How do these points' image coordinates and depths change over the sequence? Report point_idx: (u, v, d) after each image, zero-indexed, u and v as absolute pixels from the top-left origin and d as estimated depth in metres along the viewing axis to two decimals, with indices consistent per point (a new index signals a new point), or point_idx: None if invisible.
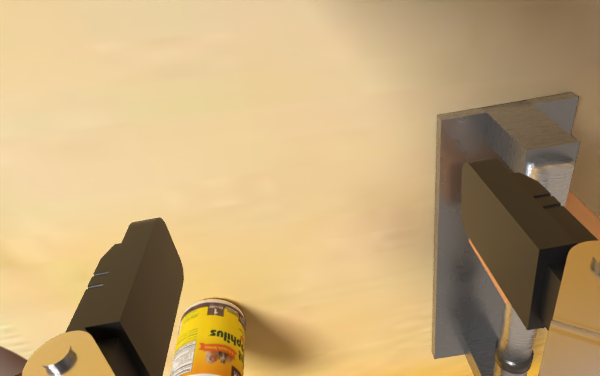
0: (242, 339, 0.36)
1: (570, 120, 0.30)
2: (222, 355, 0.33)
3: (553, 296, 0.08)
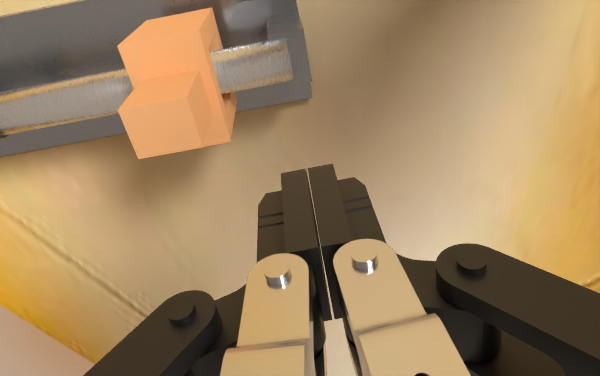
0: None
1: (288, 99, 0.32)
2: None
3: (337, 288, 0.09)
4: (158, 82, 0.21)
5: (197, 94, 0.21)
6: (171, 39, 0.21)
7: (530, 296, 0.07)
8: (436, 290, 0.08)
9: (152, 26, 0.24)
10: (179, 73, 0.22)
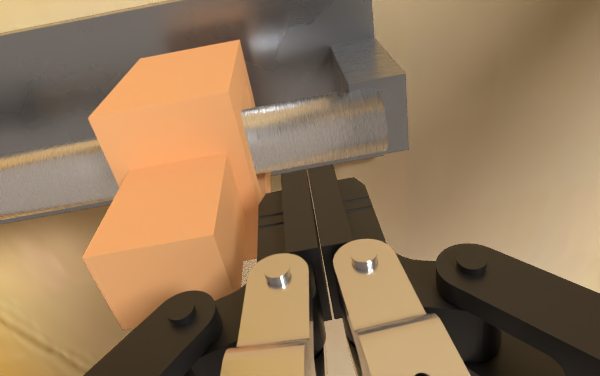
0: None
1: (351, 157, 0.23)
2: None
3: None
4: (158, 180, 0.12)
5: (227, 207, 0.12)
6: (181, 107, 0.12)
7: (530, 296, 0.07)
8: (436, 290, 0.08)
9: (149, 73, 0.15)
10: (194, 160, 0.13)
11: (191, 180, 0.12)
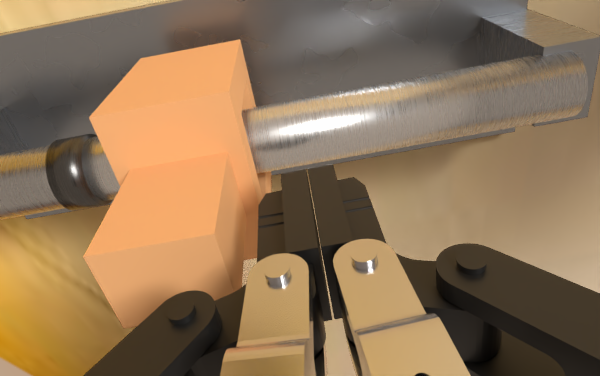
0: None
1: (482, 133, 0.23)
2: None
3: (337, 288, 0.09)
4: (159, 180, 0.12)
5: (228, 206, 0.12)
6: (182, 106, 0.12)
7: (530, 296, 0.07)
8: (436, 290, 0.08)
9: (149, 73, 0.15)
10: (194, 160, 0.13)
11: (192, 179, 0.12)
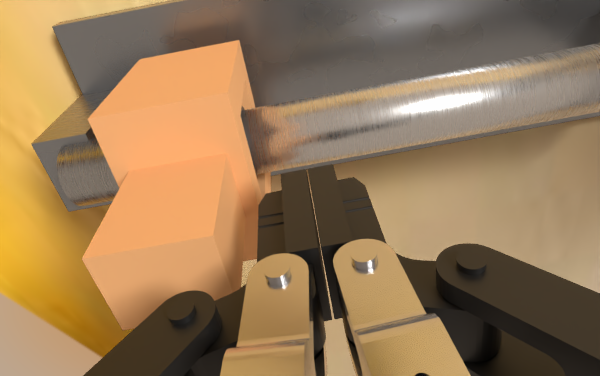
0: None
1: (595, 112, 0.22)
2: None
3: (337, 288, 0.09)
4: (158, 181, 0.12)
5: (227, 207, 0.12)
6: (180, 107, 0.12)
7: (530, 296, 0.07)
8: (436, 290, 0.08)
9: (148, 74, 0.15)
10: (193, 161, 0.13)
11: (191, 181, 0.12)
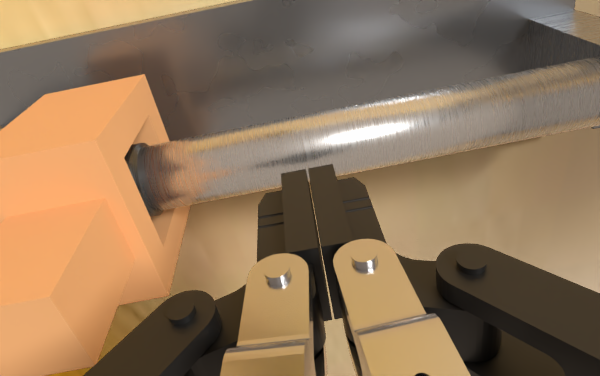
0: None
1: None
2: None
3: (337, 288, 0.09)
4: (27, 230, 0.12)
5: (91, 258, 0.12)
6: (49, 155, 0.12)
7: (530, 296, 0.07)
8: (436, 290, 0.08)
9: (41, 113, 0.15)
10: (70, 207, 0.13)
11: (57, 230, 0.12)
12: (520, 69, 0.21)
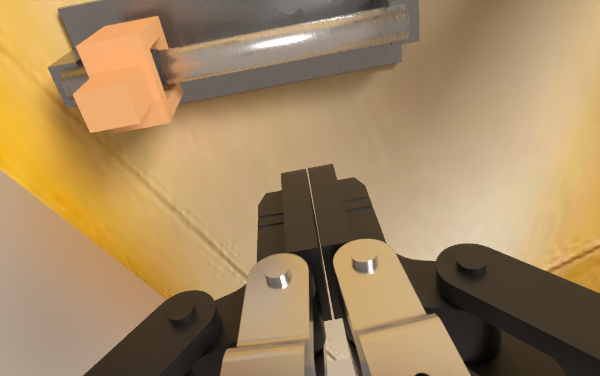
0: None
1: (382, 62, 0.38)
2: None
3: (337, 288, 0.09)
4: (107, 74, 0.27)
5: (137, 83, 0.27)
6: (118, 41, 0.27)
7: (530, 296, 0.07)
8: (436, 290, 0.08)
9: (107, 31, 0.30)
10: (125, 67, 0.28)
11: (121, 73, 0.27)
12: None
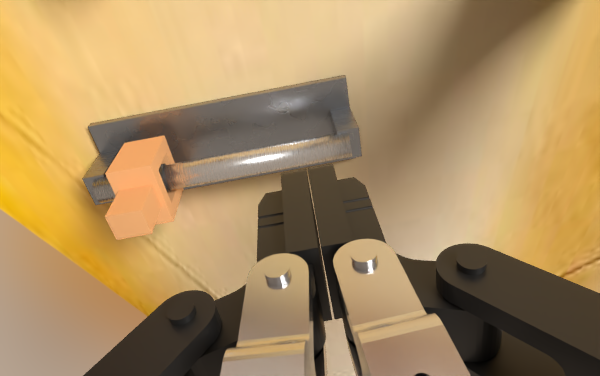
0: None
1: (340, 158, 0.48)
2: None
3: (337, 287, 0.09)
4: (128, 194, 0.38)
5: (149, 202, 0.37)
6: (135, 169, 0.38)
7: (530, 296, 0.07)
8: (436, 290, 0.08)
9: (126, 153, 0.41)
10: (140, 187, 0.38)
11: (138, 194, 0.37)
12: (331, 130, 0.46)
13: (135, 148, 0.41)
